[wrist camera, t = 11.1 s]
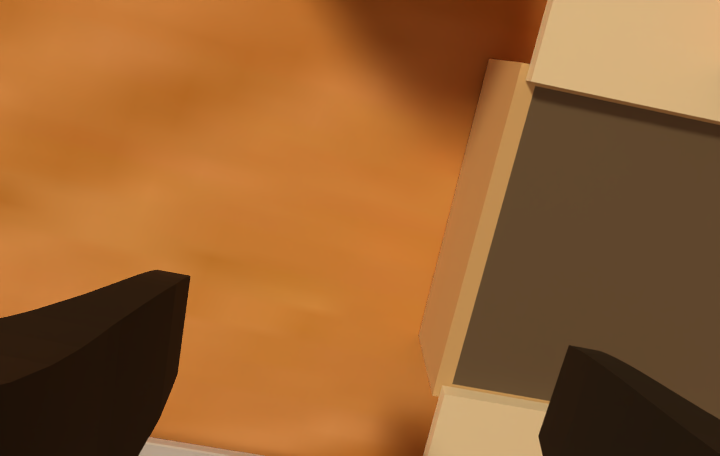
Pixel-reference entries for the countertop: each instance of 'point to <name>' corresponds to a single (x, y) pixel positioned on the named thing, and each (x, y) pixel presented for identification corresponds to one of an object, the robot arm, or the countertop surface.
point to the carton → (578, 244)
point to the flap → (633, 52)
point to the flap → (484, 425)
